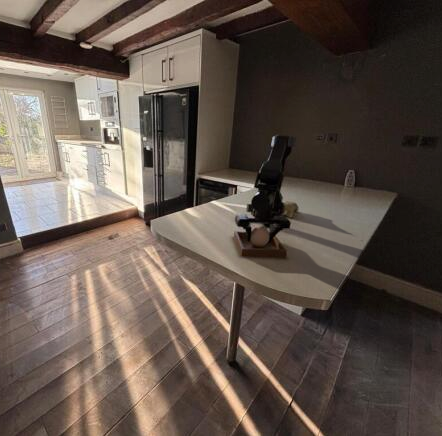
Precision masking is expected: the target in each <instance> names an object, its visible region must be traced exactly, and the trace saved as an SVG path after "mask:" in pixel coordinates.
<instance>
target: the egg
mask: <svg viewBox="0 0 442 436" xmlns="http://www.w3.org/2000/svg"><path fill="white" fill-rule="evenodd" d="M269 238H270V236H269V229H268V227H265V226H264V225H263V224H258V225H256V226H254V227H253V228H252V230H251V238H250V241H251V243H252V244H253V245H254V246H257V247H262V246H265V245H266V244H267V243H268V241H269Z"/></svg>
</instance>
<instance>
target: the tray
mask: <svg viewBox="0 0 442 436" xmlns="http://www.w3.org/2000/svg"><path fill="white" fill-rule="evenodd" d="M233 240H234V242H235V245H236V247H237V249H238V252H239V254H240V255H239V256H240V257H243V258H244V257H245V258H265V259H266V258H267V259H269V258H270V259H286V258H287V253H288V250H287V249H286V247H285V246H284V245H283V244H282V242H281V241H280V240H279V238H278V237H277V235H275V237H274V238H273V239H272V240H271V241H270V243H267V244H266V245H265V246H262V247H257V246H254V245H253V244H252V243H251V241H250V242H248V240H247V235H246V231H238V230H237V231H236V230H234V232H233Z"/></svg>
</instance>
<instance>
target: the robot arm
mask: <svg viewBox="0 0 442 436" xmlns="http://www.w3.org/2000/svg"><path fill="white" fill-rule="evenodd" d="M296 143H297V138H296V137H294V135H288V134H275V136H272V140H271V145H270V147H272V149H271V152H270V153H269V157H268V159H267V161H264V162H263V163H262V165H261V167H260V169H258V170H257V175H256V178H255V181H254V184H253V185H254V186H253V189H257V192H256V193H255V195H254V196H253V197H252V199H251V201H250V203H247V204H246V213H250V215H251V216H252V217H248V216H247V214H236V215H235V217H234V223H235V224H236V227H238V228H242V229H243V230H244V231H245V232H246V235H247V240H248V242H250V238H251V230H252V229H253V228H252V226H251V224H257V225H262V226H264V227H266V228H269V230H268V232H269V236H270V238H269V241H268V243H270V241H271V240H272V239H273V238H274V237H275V236H277V235H278V234H279V233H280V232H281V231H284V229H285V230H288V229H291V224H292V223H291V221H290V219H288V217H287V216H286V215H284V213H283V212H284V204H283V203H284V201H283V199H284V197H283V195H282V192H281V189H282V185H283V182H284V178H285V175H284V174H285V170H286V169H285V168H286V164H287V159H288V157H289V156H290V155H291V154H292V152H293V149H296V148H295V147H296ZM279 210H280V211H279Z"/></svg>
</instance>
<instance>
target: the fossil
mask: <svg viewBox="0 0 442 436" xmlns="http://www.w3.org/2000/svg"><path fill="white" fill-rule="evenodd" d="M283 204H284V212H283V215H285V216H286V217H287V218H290V219H292V218H293V217H294V214H295V213H294V212H299V205H298V204H297V203H296V202H294V201H288V200H287V201H283ZM279 211H280V210H279Z"/></svg>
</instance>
